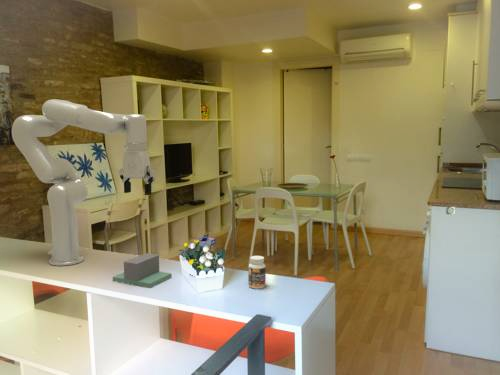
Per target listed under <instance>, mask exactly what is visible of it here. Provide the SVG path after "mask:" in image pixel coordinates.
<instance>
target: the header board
mask: <svg viewBox="0 0 500 375" xmlns="http://www.w3.org/2000/svg"><path fill="white" fill-rule="evenodd" d="M171 278H172V273H171V272H165V271H160V270H159V272H157V273H155V274H152V275H150V276H148V277H146V278H144V279H141V280H139V281H133V280H127V279H124V271H123V272H122V273H119V274H116V275H113V276H112V281H113V282H115V281H118V282H117V283H120V282H124V283H123V284H126V283H129V284H128V285H131V284H133V286H138V287H143V288H148V289H152V288H153V287H155V286H157V285H160V284H161V283H163V282H166V281H167V280H169V279H171Z"/></svg>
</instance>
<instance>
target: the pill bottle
mask: <svg viewBox="0 0 500 375" xmlns="http://www.w3.org/2000/svg"><path fill="white" fill-rule="evenodd" d="M264 261H265V257H264V256H262V255H252V256H250V257H249V262H250V263H249V264H248V271H247V272H248V274H247V276H248V282H247V283H248V287H249V288H252V289H256V290H257V289H263V288H265V287H266V272H267V271H266V264H265V263H264Z"/></svg>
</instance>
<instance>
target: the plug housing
mask: <svg viewBox="0 0 500 375" xmlns="http://www.w3.org/2000/svg"><path fill="white" fill-rule="evenodd" d="M159 271H160V255H159V254H154V253H146V252H145V253H143V254H141V255H138V256H135V257H133V258H130V259H128V260H127V259H126V260H125V261H123V272H124V279H127V280H133V281H139V280H141V279H144V278H146V277H148V276H150V275H152V274H155V273H157V272H159Z"/></svg>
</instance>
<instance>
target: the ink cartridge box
mask: <svg viewBox="0 0 500 375" xmlns="http://www.w3.org/2000/svg"><path fill="white" fill-rule="evenodd" d="M209 235H210V233H207V234H204V235H203V236H202V237H201V238H198V239H197V240H199V242H200V243H201V244H204V243H205V242H207V241H209V240H211V246H210V251H215V252H216V241H217V239H216V238H213V237H209ZM192 242H193V241H191V242H190V243H192Z"/></svg>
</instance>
